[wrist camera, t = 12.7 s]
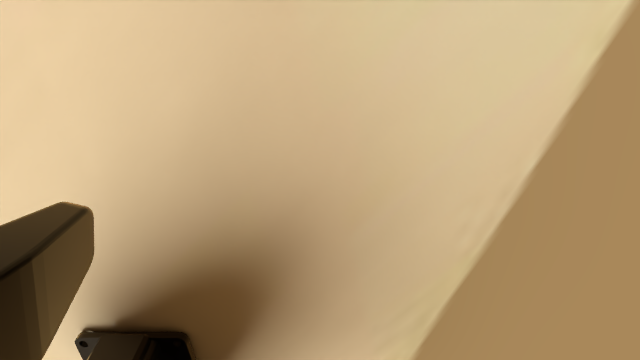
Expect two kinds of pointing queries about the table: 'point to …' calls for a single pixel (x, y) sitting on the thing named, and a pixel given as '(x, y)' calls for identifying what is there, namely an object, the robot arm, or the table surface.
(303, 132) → the table surface
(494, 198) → the table surface
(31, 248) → the robot arm
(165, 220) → the table surface
